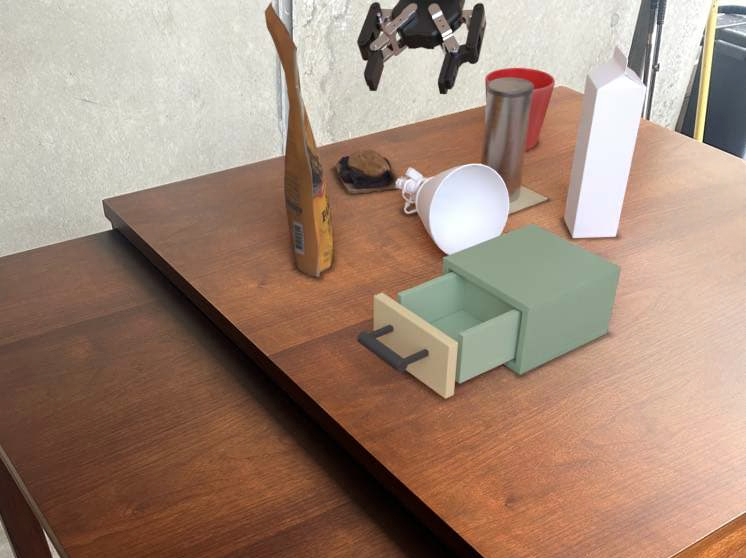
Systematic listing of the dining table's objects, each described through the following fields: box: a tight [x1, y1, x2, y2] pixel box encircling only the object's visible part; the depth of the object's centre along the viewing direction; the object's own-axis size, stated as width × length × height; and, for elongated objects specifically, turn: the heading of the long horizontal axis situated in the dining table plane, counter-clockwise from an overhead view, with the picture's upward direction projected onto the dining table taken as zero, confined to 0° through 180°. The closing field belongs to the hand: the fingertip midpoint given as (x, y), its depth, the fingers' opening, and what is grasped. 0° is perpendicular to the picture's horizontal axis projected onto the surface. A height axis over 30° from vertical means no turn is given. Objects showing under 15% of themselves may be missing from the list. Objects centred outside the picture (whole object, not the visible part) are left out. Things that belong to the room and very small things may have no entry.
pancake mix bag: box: [264, 1, 334, 278], centre depth 107 cm, size 7×19×28 cm, turn 4°
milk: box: [563, 44, 648, 239], centre depth 111 cm, size 6×6×22 cm
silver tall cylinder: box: [480, 77, 534, 203], centre depth 121 cm, size 6×6×15 cm
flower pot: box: [484, 67, 556, 151], centre depth 138 cm, size 11×11×10 cm
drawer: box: [356, 271, 522, 400], centre depth 94 cm, size 17×13×6 cm
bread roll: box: [335, 149, 397, 195], centre depth 132 cm, size 11×8×4 cm
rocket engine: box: [395, 163, 509, 256], centre depth 118 cm, size 12×12×18 cm
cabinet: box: [441, 222, 622, 376], centre depth 99 cm, size 14×14×8 cm
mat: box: [508, 185, 549, 215], centre depth 127 cm, size 10×10×1 cm
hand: (406, 87), depth 99 cm, fingers open, 8 cm apart
